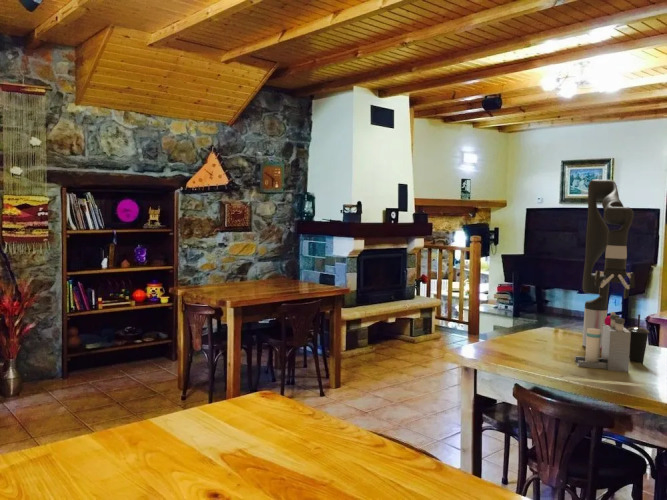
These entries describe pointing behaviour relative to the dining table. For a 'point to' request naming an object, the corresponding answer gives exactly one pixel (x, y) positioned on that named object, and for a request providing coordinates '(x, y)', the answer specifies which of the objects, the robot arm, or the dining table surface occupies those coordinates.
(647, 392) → the dining table surface
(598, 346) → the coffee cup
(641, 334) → the drinking cup
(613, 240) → the robot arm
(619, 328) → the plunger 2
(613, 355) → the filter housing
